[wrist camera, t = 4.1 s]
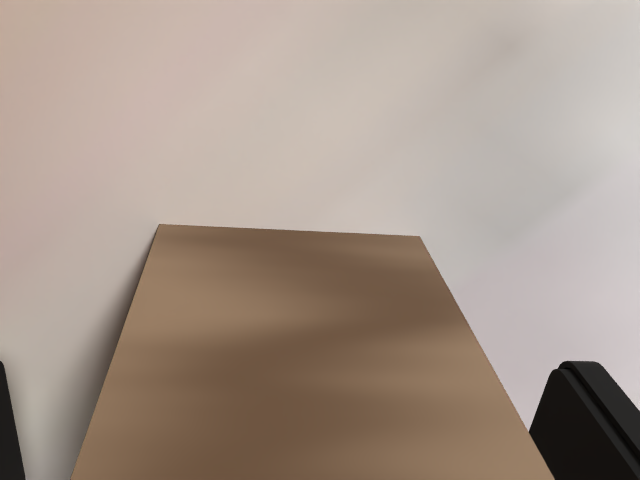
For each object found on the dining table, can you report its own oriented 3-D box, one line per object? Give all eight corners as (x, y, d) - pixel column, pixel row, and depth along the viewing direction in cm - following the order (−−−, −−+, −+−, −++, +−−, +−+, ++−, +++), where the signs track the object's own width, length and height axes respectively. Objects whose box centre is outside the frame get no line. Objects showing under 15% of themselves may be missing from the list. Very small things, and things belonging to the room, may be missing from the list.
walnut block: (418, 235, 11) (564, 496, 6) (381, 422, 13) (461, 730, 8) (159, 223, 11) (61, 505, 5) (165, 421, 13) (101, 758, 8)
